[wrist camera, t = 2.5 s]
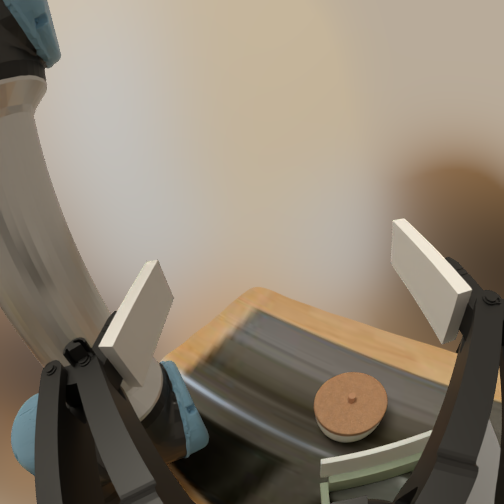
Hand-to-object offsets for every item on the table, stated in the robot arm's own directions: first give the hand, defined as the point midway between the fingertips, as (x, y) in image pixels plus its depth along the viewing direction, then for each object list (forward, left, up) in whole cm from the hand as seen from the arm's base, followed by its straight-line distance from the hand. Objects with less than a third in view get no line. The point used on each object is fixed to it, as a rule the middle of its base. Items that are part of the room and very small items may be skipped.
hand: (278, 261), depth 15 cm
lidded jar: (+7, +6, -37) cm, 38 cm away
